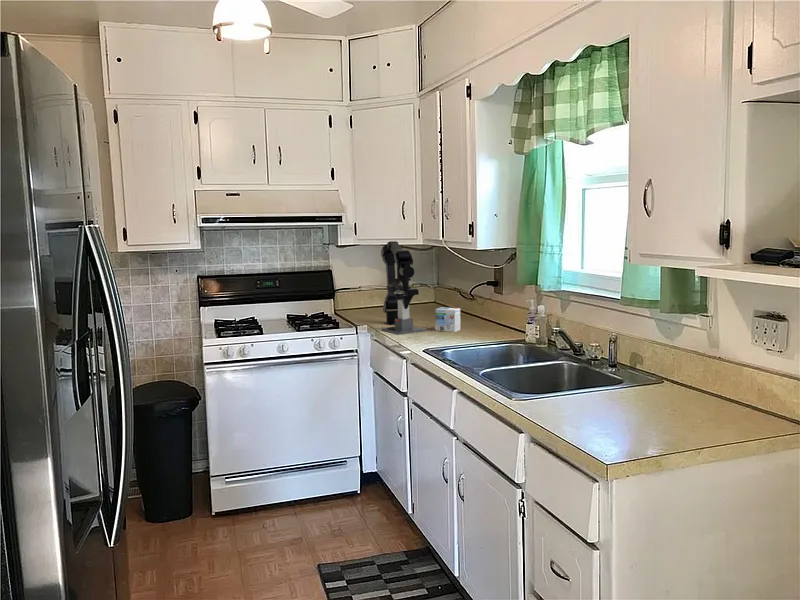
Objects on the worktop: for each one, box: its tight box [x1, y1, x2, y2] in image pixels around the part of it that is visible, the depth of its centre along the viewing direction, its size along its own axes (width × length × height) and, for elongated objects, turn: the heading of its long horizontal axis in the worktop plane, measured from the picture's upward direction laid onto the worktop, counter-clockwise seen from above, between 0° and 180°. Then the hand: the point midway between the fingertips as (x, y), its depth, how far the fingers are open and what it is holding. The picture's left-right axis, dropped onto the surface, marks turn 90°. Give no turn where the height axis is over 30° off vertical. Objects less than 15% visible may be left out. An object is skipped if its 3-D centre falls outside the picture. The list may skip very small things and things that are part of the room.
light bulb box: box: [434, 306, 461, 333], centre depth 326 cm, size 11×7×11 cm, turn 62°
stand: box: [381, 317, 428, 336], centre depth 328 cm, size 16×16×6 cm
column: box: [398, 299, 411, 320], centre depth 327 cm, size 4×4×10 cm
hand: (403, 308), depth 327 cm, fingers closed on column, 4 cm apart
